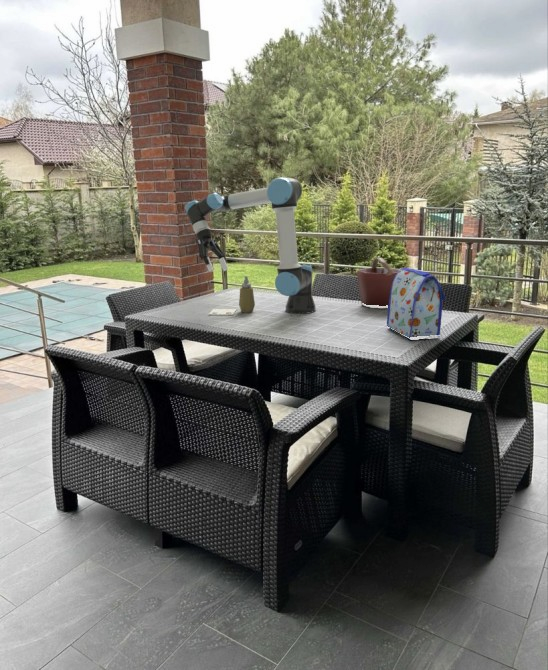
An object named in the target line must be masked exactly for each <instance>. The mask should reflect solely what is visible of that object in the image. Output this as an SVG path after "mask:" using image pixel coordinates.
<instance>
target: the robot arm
mask: <svg viewBox="0 0 548 670" xmlns="http://www.w3.org/2000/svg"><path fill="white" fill-rule="evenodd" d="M267 186H268V187H262V188H257V189H253V190H248V191H247V190H246V191H242V192H236V193H231V194H226V195H220V194H219V193H218V192H212V193H211V194H208V195H207V196H206V197H204V198H203V199H202V200H200V201H198V200H192V201H189V202H187V203H186V204H185V206H184V209H185V211H186V215H187V216H188V219H189V221H190V223H191V226H192V229H193V231H194V233H195V236H196V238H197V239H196V240H197V241H196V243H197V245H198V246H197V247H198V254H199V255H198V256H199V258H200V260H201V261H204V264H205V266H206V268H207V272H212V271H213V270H214V269H215V268H214V266H213V264H212V261H211V259H210V257H209V256H208V255H209V254H208V253H209V250H210V251H211V252H213V253H214V255H215V256H216V257H217V258H218V261H219V264H220V266H221V269H222V271H223V272H226V271H227V270H229V266H228V264H227V262H226V260H225V257H226V254H225V252H224V251H223V249H222V248H221V247H220V245H219V244H218V241H217V240H216V239H212V237H213V233H212V231H211V229H210V226H209V224H208V222H207V219H206V217H207V216H209V215H210V214H212V213H216V212H228V211H232V210H237V209H242V208H249V207H255V206H261V205H268V204H271V210H272V211H274V212H275V217H276V218H275V219H276V231H277V244H278V255H279V256H278V257H279V265H278V266H277V268H276V269H277V270H276V271H277V275H276V277H275V280H274V285H275V289H276V291H277V292H278V293H279V294H280V295H283V296H285V297H288V298H287V301H286V305H285V311H286V312H287V311H288V312H287V313H290V312H292V313H291V314H308V313H307V312H311V313H313V312H312V311H314V312H316V304H315V300H314V297H313V267H312V266H311V265H303V264H302V265H301V264H300V263H299V258H298V257H299V256H298V244H297V243H298V242H297V232H296V220H295V210H296V209H297V208H298V201H299V200H300V199H301V197H302V194H303V186H302V184H301V183H300V181H299V180H298V179H296V178H292V177H285V176H283V177H282V176H281V177H277V178H275V179H272V180H271V181H270V182H269V184H268V185H267Z"/></svg>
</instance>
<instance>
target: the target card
mask: <svg viewBox="0 0 548 670" xmlns="http://www.w3.org/2000/svg"><path fill="white" fill-rule="evenodd" d="M235 311H237V308H213V309H212V310H211V311H210V312H209V313H208V316H234V315H233V314H235V313H236V312H235Z"/></svg>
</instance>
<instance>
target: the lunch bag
mask: <svg viewBox="0 0 548 670" xmlns="http://www.w3.org/2000/svg"><path fill="white" fill-rule="evenodd" d="M399 269H400V270H399V272H398V274H397V275H396V276H395V277H394V280H393V283H392V287H391V291H390V299H389V305H388V309H387V318H386V327H387V326H388V327H390V328H392V329H394V330H396V331H397V332H399V333H401V334H403V335H405V336H407V337H409V338H410V337H417V336H430V335H440V334H441V326H442V316H443V301H446V300H447V296H446V295H445V293H444V291H443V289H442V286H441V284H440V282H439V280H438V279H437V278H436V277H435V276H434V275H432V274H431V273H430V272H425V271H423V270H418V269H415V268H408V267H402V268H399Z"/></svg>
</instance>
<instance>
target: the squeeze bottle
mask: <svg viewBox="0 0 548 670" xmlns="http://www.w3.org/2000/svg"><path fill="white" fill-rule="evenodd" d="M238 298H239V300H238V302H239V303H238V305H239V308H240V312H241V313H253V312H254V309H255V306H256V303H255V295H254V289H253V287H252V283H250V282H249V277H248V275H247V276H246V275H245V276H244V279H243V283H241V288H239V297H238Z"/></svg>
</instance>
